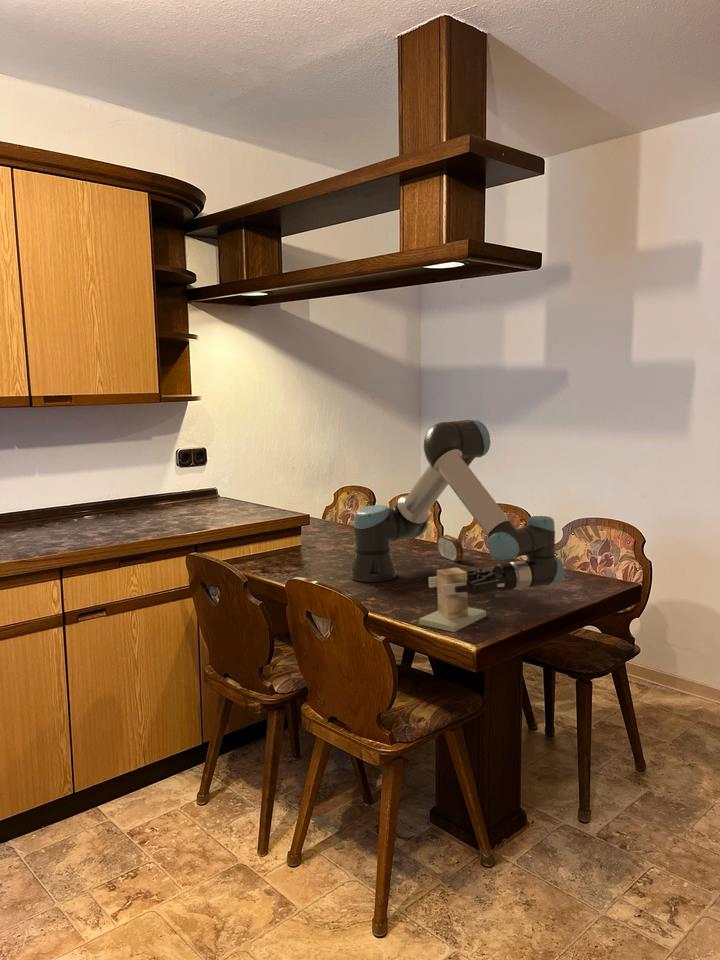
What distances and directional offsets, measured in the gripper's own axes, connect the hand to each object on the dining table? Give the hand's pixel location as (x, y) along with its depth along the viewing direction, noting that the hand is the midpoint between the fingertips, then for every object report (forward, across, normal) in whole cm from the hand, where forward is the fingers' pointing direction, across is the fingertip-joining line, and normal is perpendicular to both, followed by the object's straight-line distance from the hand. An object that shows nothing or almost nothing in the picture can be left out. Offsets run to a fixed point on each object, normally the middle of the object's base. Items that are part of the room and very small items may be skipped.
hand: (436, 586), depth 195 cm
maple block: (-5, 0, -8) cm, 10 cm away
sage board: (-5, 0, -10) cm, 11 cm away
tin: (-35, +62, -10) cm, 72 cm away
